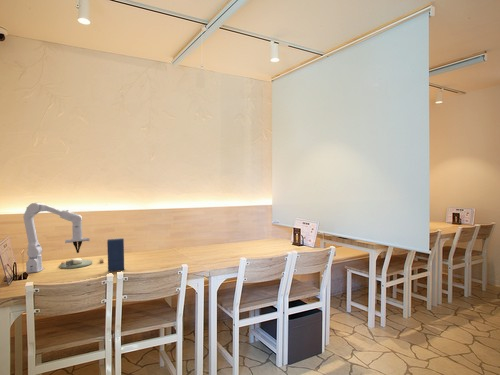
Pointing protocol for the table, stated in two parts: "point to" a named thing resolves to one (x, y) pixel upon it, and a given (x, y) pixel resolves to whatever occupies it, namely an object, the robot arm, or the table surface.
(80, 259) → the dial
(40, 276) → the table surface
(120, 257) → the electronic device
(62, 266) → the dial board
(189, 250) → the table surface
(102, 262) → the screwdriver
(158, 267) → the table surface
